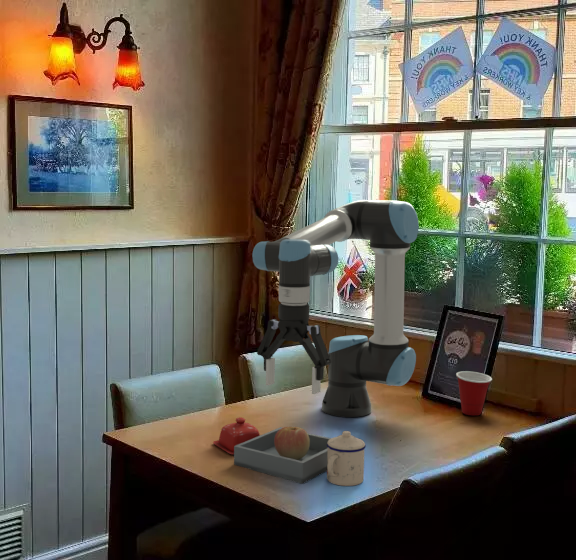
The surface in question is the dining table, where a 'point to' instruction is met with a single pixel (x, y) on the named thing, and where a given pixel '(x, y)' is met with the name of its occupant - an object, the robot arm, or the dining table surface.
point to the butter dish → (236, 435)
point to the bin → (282, 458)
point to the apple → (292, 442)
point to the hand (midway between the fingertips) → (292, 388)
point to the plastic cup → (472, 391)
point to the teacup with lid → (345, 460)
